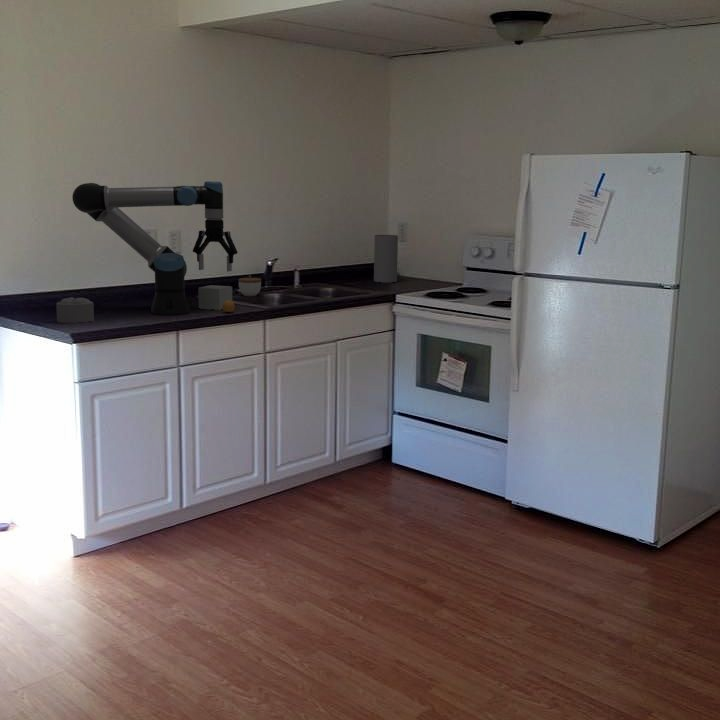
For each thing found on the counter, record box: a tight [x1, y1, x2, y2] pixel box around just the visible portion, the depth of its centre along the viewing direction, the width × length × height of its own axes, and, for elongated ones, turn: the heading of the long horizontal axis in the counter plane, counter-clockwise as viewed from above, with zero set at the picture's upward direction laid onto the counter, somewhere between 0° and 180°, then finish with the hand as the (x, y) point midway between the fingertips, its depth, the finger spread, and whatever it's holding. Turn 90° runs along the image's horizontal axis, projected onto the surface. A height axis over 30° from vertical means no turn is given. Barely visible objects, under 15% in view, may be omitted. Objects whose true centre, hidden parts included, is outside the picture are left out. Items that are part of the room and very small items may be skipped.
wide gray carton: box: [197, 284, 233, 311], centre depth 379 cm, size 10×10×9 cm
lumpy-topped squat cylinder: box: [55, 296, 95, 324], centre depth 339 cm, size 10×13×9 cm
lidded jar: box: [237, 274, 262, 297], centre depth 422 cm, size 11×11×9 cm
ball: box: [222, 300, 236, 313], centre depth 367 cm, size 5×5×5 cm
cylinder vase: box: [373, 234, 399, 284], centre depth 486 cm, size 12×12×25 cm
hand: (215, 270), depth 377 cm, fingers open, 13 cm apart
